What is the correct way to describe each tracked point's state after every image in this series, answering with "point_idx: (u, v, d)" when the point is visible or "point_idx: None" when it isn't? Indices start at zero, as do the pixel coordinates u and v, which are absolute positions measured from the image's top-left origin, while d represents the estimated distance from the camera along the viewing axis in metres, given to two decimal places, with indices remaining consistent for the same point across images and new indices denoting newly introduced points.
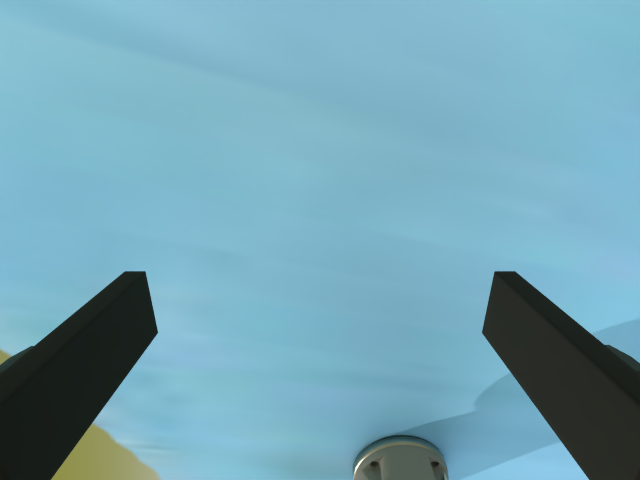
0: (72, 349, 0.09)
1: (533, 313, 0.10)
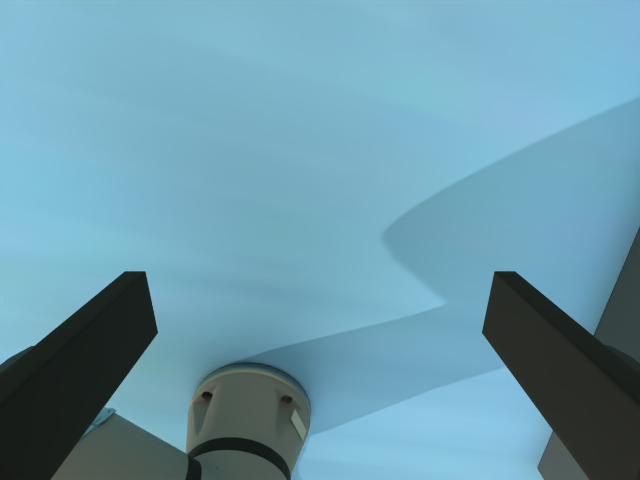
0: (72, 349, 0.09)
1: (533, 313, 0.10)
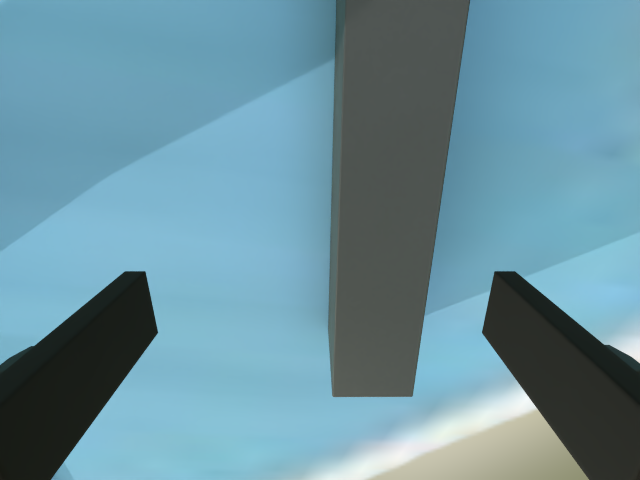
0: (72, 349, 0.09)
1: (533, 313, 0.10)
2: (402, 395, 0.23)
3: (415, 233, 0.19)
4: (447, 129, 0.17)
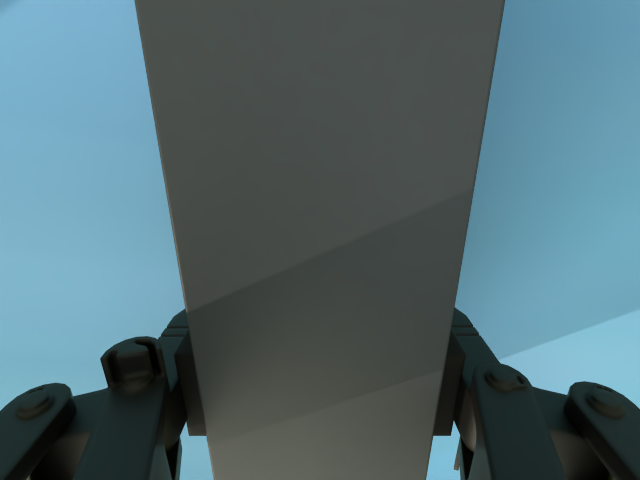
0: None
1: None
2: None
3: (401, 255, 0.07)
4: None
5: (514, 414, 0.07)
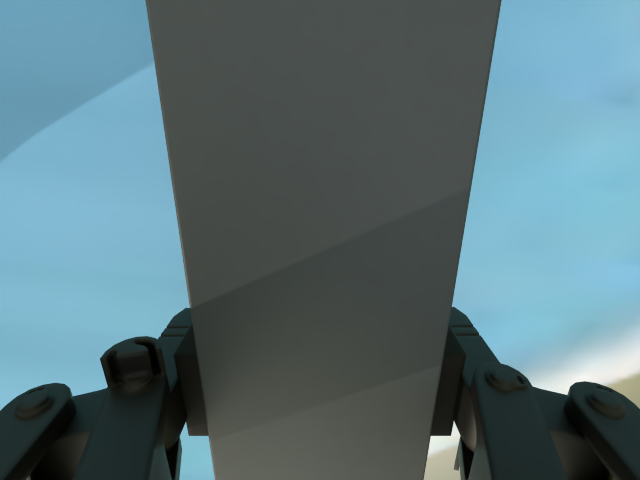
0: None
1: None
2: None
3: (401, 248, 0.07)
4: None
5: (514, 414, 0.07)
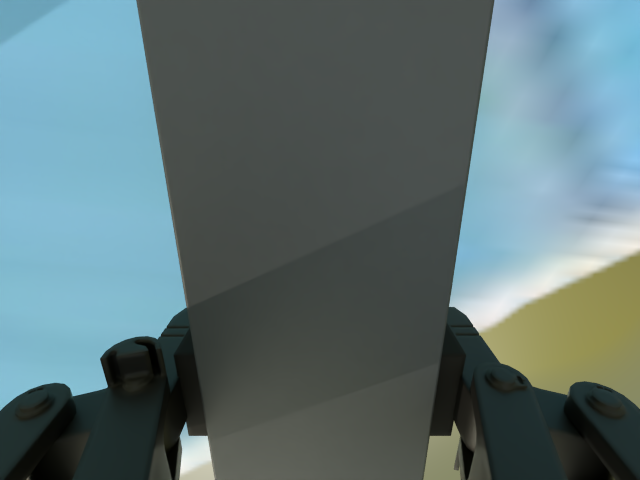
0: None
1: None
2: None
3: (397, 247, 0.07)
4: None
5: (514, 414, 0.07)
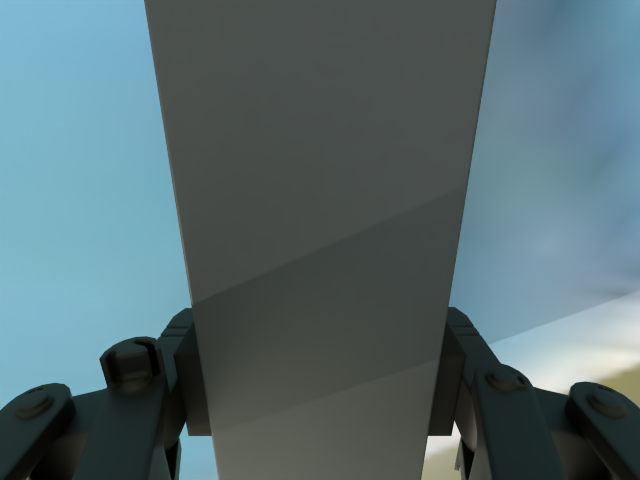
0: None
1: None
2: None
3: (399, 246, 0.07)
4: None
5: (515, 415, 0.07)
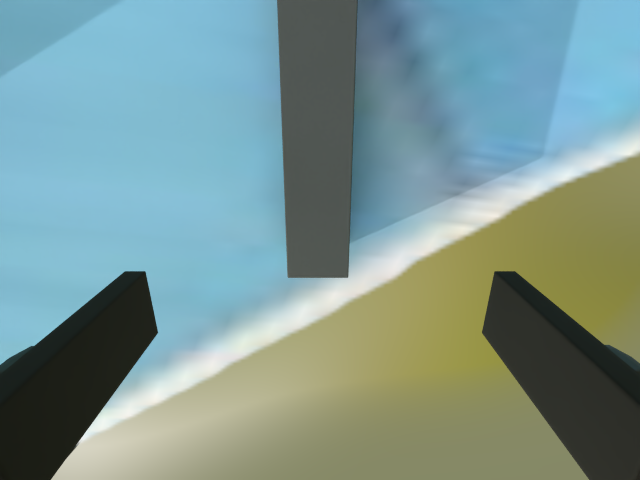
0: (72, 349, 0.09)
1: (533, 313, 0.10)
2: (340, 276, 0.31)
3: (337, 141, 0.27)
4: (352, 62, 0.25)
5: None
